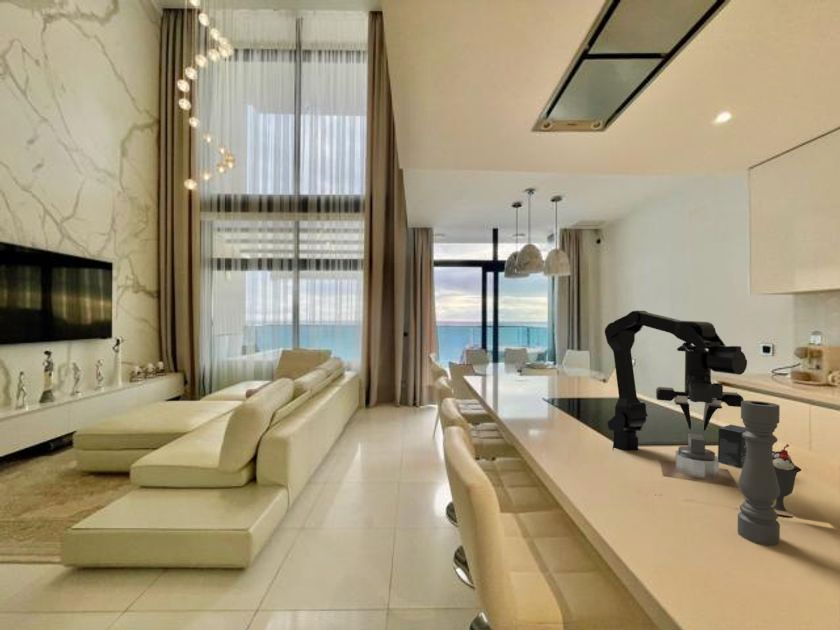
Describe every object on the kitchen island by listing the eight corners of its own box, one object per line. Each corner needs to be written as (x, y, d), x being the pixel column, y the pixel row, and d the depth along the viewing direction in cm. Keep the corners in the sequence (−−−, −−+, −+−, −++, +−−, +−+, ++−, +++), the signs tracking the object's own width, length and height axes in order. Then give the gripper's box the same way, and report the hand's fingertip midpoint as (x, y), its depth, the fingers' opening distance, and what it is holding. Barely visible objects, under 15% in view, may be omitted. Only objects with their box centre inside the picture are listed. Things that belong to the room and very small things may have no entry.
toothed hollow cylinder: (677, 475, 110) (677, 457, 110) (674, 464, 118) (674, 448, 118) (720, 481, 106) (721, 463, 106) (714, 470, 114) (714, 453, 114)
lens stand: (662, 479, 109) (662, 475, 109) (659, 462, 122) (659, 459, 122) (740, 491, 102) (740, 487, 102) (727, 472, 115) (727, 469, 115)
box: (740, 471, 116) (741, 432, 116) (717, 464, 121) (717, 427, 121) (752, 466, 121) (753, 428, 121) (729, 460, 125) (729, 423, 125)
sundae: (791, 522, 87) (792, 448, 87) (753, 509, 93) (754, 439, 93) (807, 516, 90) (808, 444, 90) (769, 503, 96) (770, 436, 96)
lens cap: (679, 469, 110) (680, 438, 110) (676, 459, 117) (677, 431, 117) (717, 474, 107) (717, 443, 107) (711, 464, 114) (712, 435, 114)
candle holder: (729, 529, 83) (731, 400, 84) (759, 528, 84) (760, 400, 84) (756, 546, 77) (758, 406, 77) (788, 545, 78) (790, 406, 78)
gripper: (658, 370, 109) (657, 432, 109) (749, 376, 101) (748, 442, 101) (656, 366, 119) (655, 422, 119) (738, 371, 111) (737, 431, 111)
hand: (696, 429), depth 112 cm, fingers open, 3 cm apart
